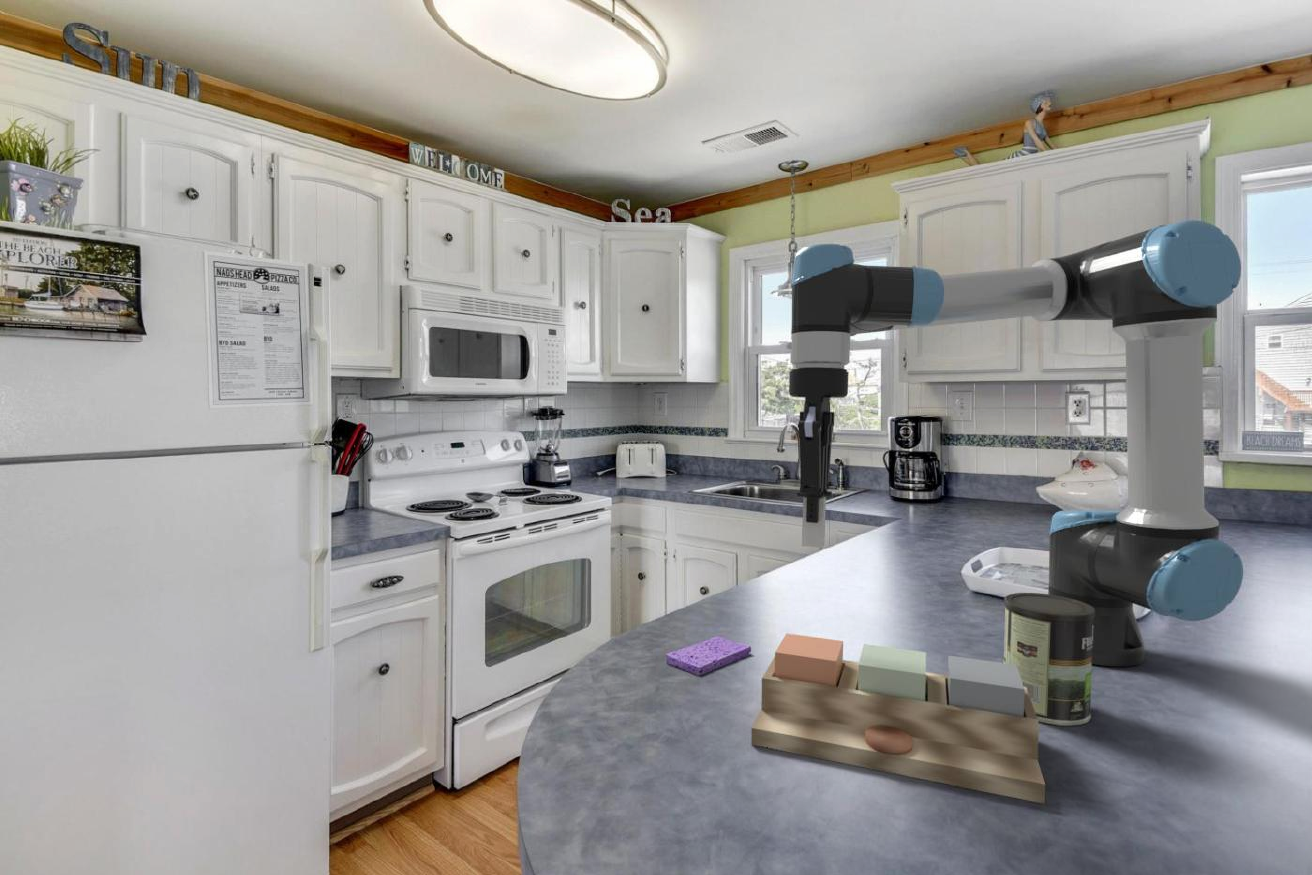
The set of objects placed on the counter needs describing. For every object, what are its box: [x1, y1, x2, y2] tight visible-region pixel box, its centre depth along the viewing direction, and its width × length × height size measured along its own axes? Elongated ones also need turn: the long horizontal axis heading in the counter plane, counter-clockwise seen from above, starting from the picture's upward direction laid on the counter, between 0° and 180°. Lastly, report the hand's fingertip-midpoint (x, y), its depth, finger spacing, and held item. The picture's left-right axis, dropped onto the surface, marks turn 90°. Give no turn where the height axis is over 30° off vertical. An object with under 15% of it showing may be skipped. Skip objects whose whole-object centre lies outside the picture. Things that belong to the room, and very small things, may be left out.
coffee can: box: [1003, 592, 1095, 727], centre depth 88 cm, size 10×10×14 cm
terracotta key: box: [774, 633, 844, 687], centre depth 85 cm, size 7×7×5 cm
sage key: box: [858, 643, 927, 701], centre depth 82 cm, size 7×7×5 cm
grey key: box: [947, 654, 1025, 717], centre depth 78 cm, size 7×7×5 cm
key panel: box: [750, 656, 1046, 805], centre depth 79 cm, size 30×15×6 cm, turn 68°
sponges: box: [665, 636, 752, 676], centre depth 105 cm, size 7×13×2 cm, turn 135°
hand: (813, 545), depth 89 cm, fingers closed
